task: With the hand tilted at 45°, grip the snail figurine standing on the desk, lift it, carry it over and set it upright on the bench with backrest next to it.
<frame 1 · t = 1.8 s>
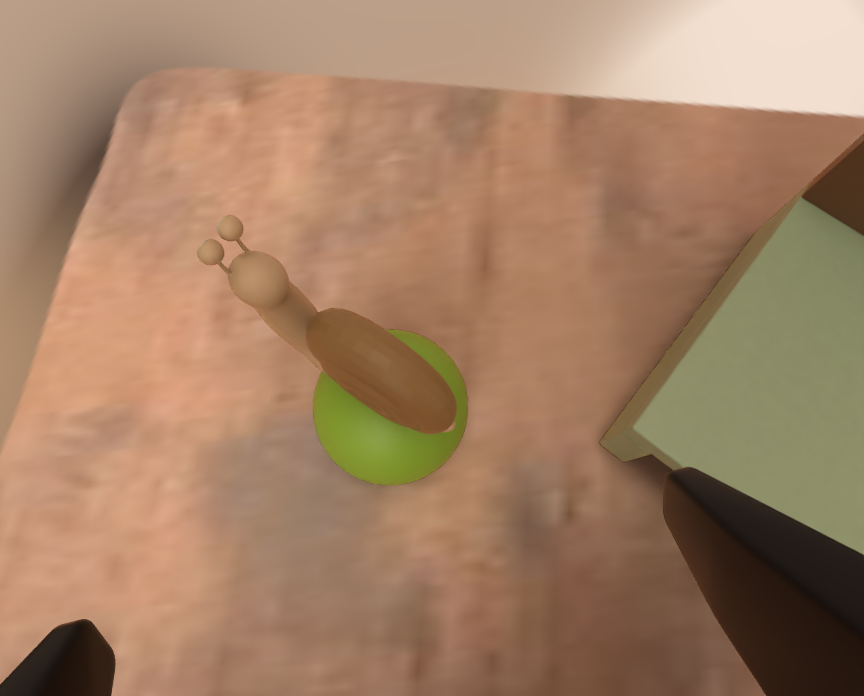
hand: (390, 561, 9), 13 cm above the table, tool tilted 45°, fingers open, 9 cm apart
snail figurine: (386, 413, 23), on the table
bench with backrest: (857, 455, 22), on the table
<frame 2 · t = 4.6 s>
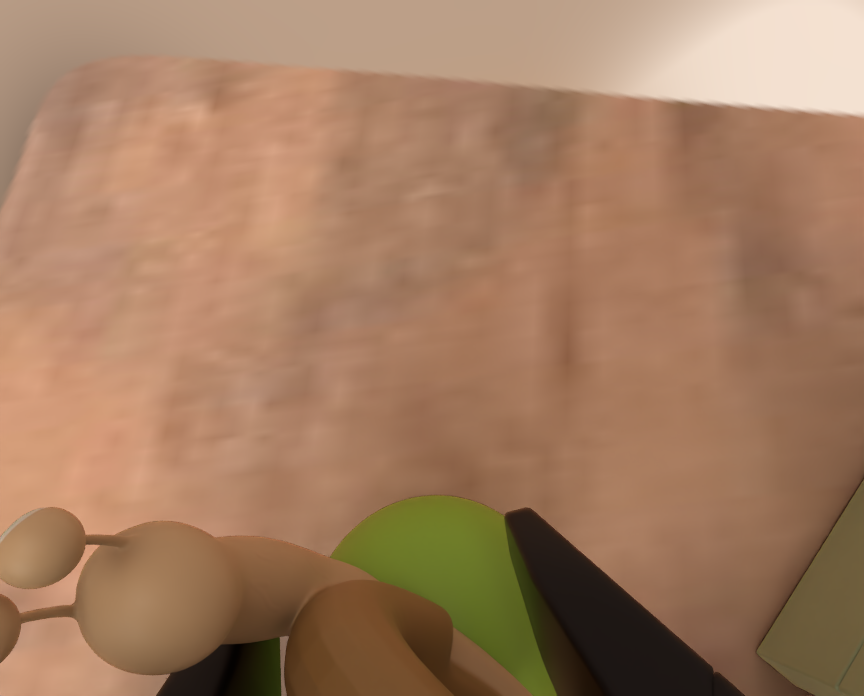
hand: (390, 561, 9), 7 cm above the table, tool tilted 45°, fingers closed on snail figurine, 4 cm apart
snail figurine: (421, 594, 15), on the table, touching gripper
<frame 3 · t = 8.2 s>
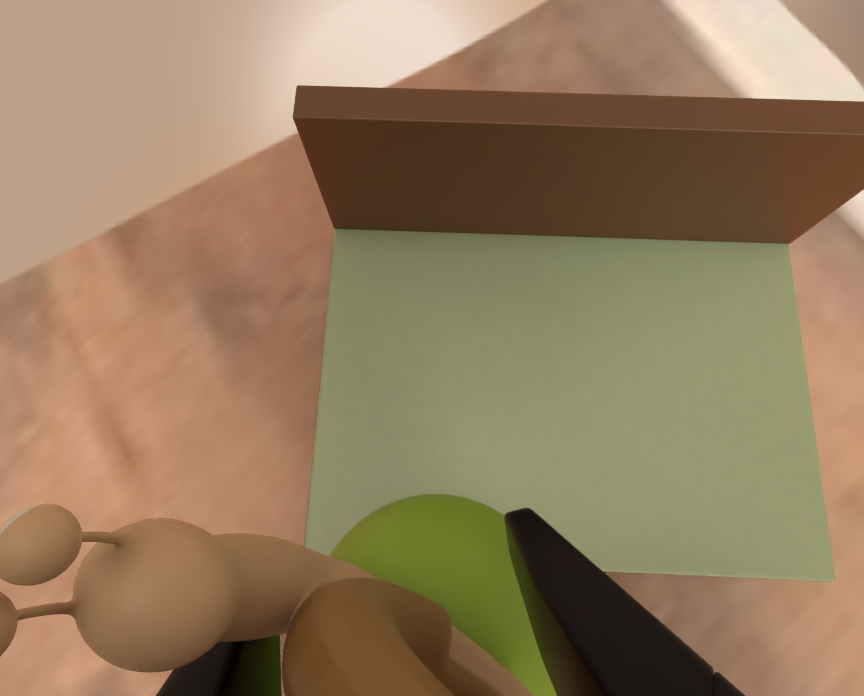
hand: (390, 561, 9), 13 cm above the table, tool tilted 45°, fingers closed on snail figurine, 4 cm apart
snail figurine: (421, 593, 15), point 6 cm above the table, touching gripper
bench with backrest: (541, 397, 22), on the table
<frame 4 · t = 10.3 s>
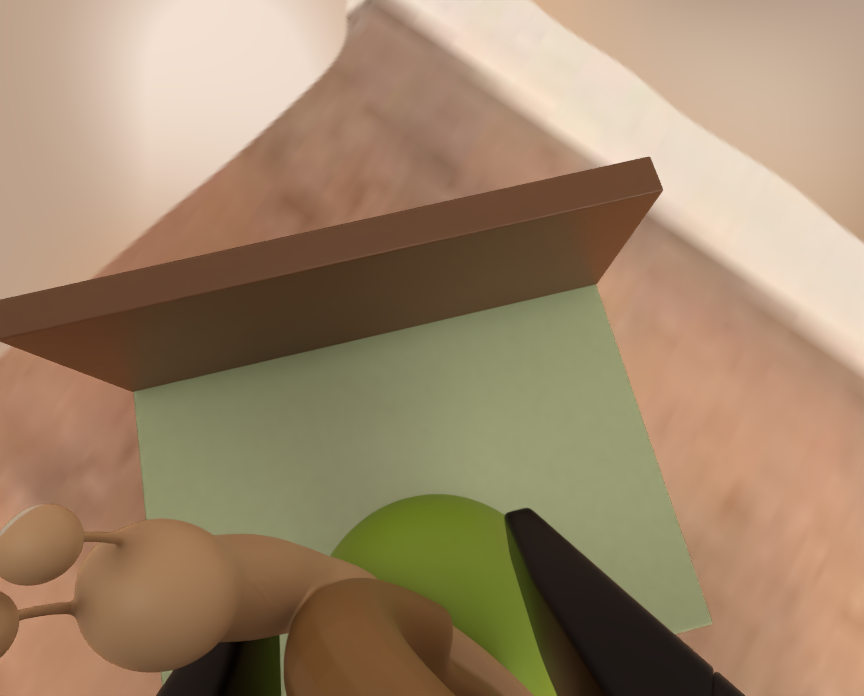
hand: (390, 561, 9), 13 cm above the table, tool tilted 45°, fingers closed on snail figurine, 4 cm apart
snail figurine: (422, 593, 15), point 6 cm above the table, touching gripper
bench with backrest: (409, 489, 22), on the table
when the fingers open (11 cm above the table, at t = 11.8 s): snail figurine stays where it is, resting on bench with backrest.
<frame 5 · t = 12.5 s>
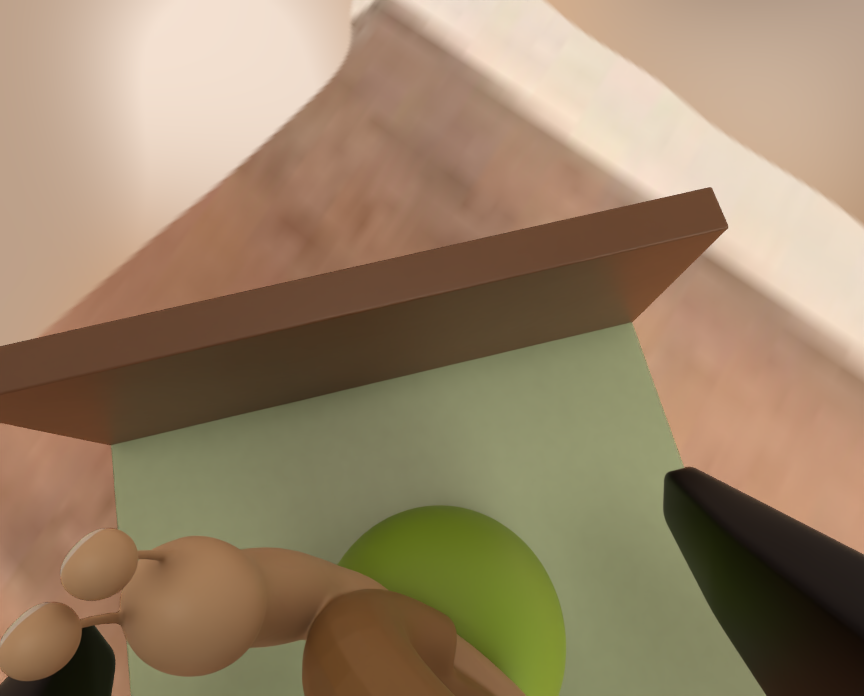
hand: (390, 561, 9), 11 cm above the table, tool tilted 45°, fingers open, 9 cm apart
snail figurine: (424, 599, 15), point 4 cm above the table, touching bench with backrest
bench with backrest: (420, 546, 19), on the table
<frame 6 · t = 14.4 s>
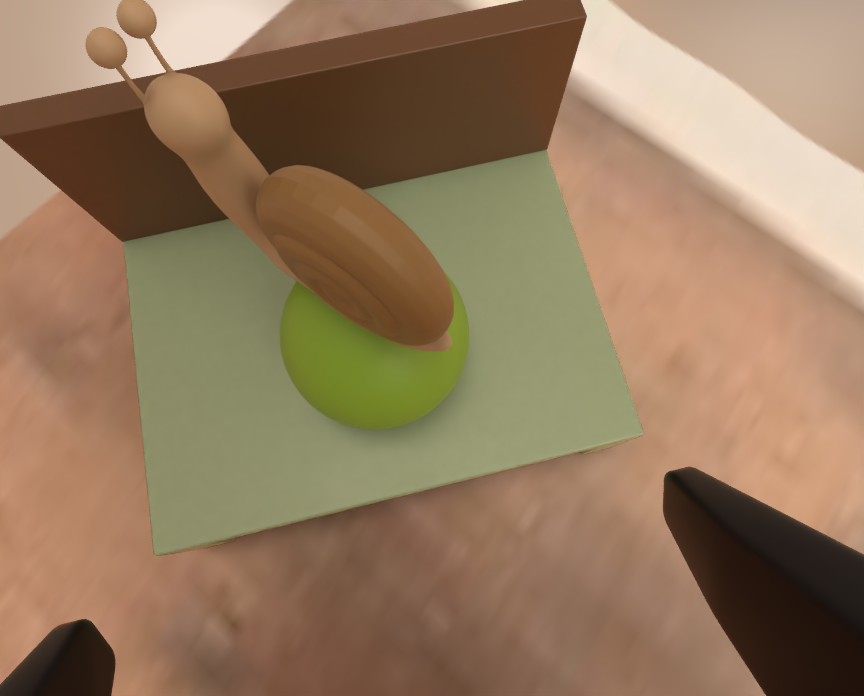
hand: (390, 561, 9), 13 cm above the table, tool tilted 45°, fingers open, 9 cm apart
snail figurine: (373, 353, 19), point 4 cm above the table, touching bench with backrest
bench with backrest: (378, 351, 23), on the table
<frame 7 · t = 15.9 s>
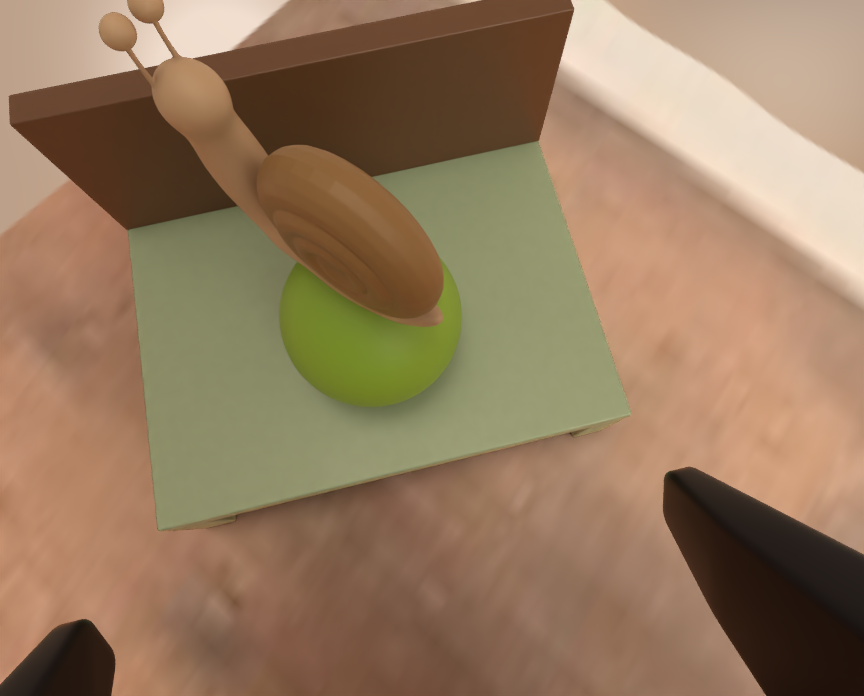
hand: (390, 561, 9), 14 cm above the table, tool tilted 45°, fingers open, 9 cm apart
snail figurine: (370, 336, 20), point 4 cm above the table, touching bench with backrest
bench with backrest: (375, 337, 24), on the table
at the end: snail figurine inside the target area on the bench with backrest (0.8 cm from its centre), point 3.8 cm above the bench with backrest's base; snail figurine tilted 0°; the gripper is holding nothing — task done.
